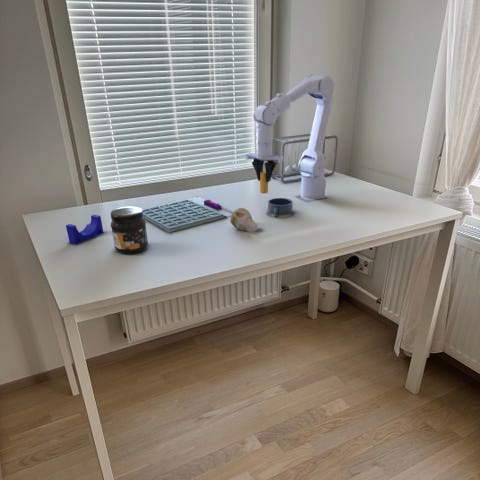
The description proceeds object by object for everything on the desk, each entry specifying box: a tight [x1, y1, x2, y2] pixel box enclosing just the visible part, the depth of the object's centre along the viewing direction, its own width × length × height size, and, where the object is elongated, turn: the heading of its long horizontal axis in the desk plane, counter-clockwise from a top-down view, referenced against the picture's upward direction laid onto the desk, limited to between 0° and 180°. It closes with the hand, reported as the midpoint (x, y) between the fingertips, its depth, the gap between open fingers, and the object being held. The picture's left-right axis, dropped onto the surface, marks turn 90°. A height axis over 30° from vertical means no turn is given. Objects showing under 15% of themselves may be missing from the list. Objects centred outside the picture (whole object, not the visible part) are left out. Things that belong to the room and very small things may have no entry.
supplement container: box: [110, 206, 149, 255], centre depth 141 cm, size 10×10×12 cm
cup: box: [267, 197, 294, 218], centre depth 169 cm, size 12×9×4 cm
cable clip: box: [65, 214, 104, 246], centre depth 152 cm, size 12×4×6 cm, turn 148°
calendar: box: [141, 196, 227, 233], centre depth 172 cm, size 27×29×2 cm
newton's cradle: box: [271, 133, 339, 184], centre depth 210 cm, size 30×10×18 cm, turn 118°
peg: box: [259, 170, 269, 194], centre depth 171 cm, size 3×3×8 cm
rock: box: [230, 207, 260, 234], centre depth 155 cm, size 8×10×10 cm
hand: (264, 180), depth 171 cm, fingers closed on peg, 3 cm apart
